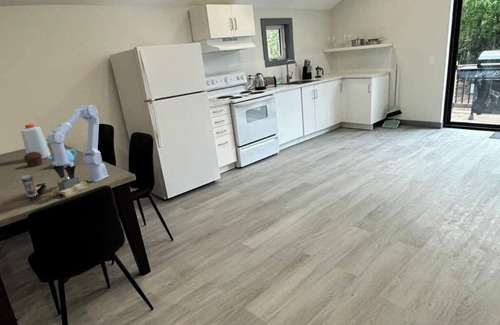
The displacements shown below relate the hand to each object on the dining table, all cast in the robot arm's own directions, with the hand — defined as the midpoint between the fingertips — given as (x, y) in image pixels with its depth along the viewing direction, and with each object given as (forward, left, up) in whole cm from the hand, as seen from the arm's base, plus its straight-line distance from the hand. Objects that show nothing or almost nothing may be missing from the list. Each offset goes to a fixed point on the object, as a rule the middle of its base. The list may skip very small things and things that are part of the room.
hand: (67, 178), depth 174 cm
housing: (0, 0, -5) cm, 5 cm away
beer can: (+10, -18, -8) cm, 22 cm away
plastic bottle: (-50, -101, -8) cm, 113 cm away
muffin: (-35, -84, -8) cm, 91 cm away
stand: (0, 0, -8) cm, 8 cm away
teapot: (-39, -57, -8) cm, 69 cm away
